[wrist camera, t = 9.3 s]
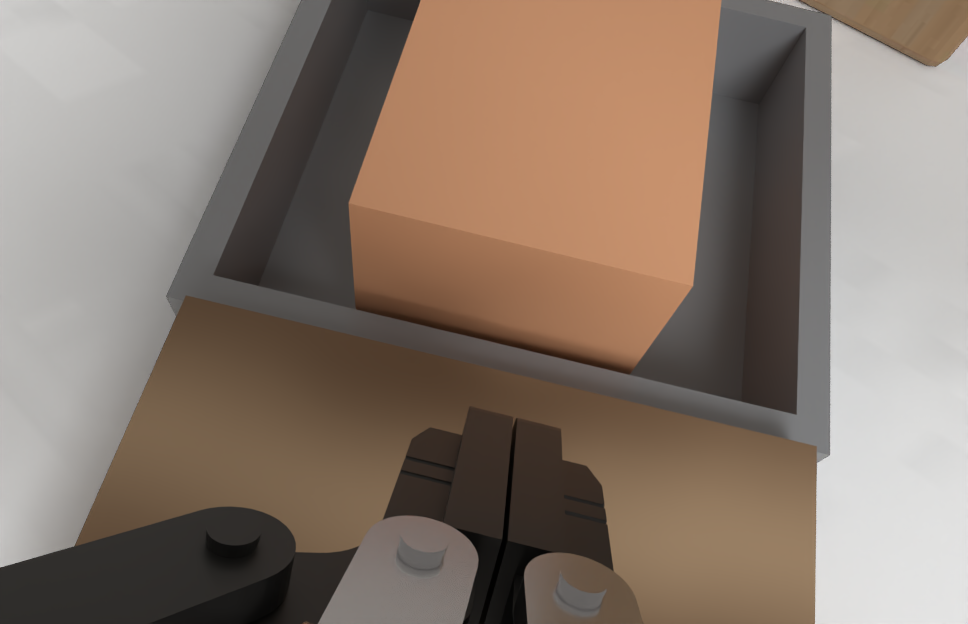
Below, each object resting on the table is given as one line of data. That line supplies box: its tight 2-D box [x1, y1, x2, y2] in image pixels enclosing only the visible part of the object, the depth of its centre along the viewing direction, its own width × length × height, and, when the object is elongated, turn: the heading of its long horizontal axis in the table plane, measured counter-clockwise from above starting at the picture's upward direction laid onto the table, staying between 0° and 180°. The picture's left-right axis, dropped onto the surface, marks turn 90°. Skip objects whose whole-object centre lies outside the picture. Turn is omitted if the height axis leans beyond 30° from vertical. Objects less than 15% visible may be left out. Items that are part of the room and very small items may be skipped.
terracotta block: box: [349, 0, 721, 375], centre depth 21 cm, size 7×7×9 cm
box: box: [166, 0, 831, 462], centre depth 23 cm, size 15×16×4 cm
